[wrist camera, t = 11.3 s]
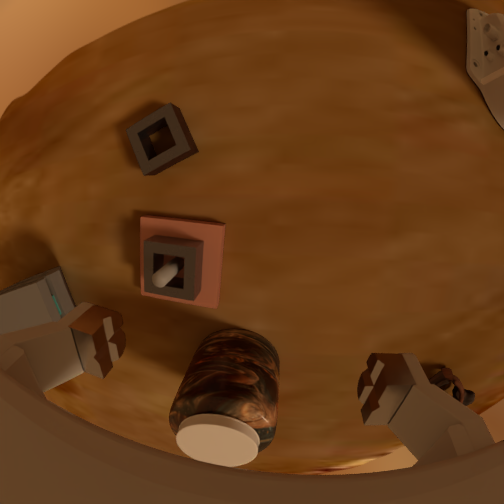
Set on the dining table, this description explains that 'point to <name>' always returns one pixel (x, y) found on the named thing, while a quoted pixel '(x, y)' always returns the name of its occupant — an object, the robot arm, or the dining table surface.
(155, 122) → the loose link
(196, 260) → the link
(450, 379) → the pottery mug
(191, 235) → the keeper
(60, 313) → the grey lidded box
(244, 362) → the jar
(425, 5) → the dining table surface
